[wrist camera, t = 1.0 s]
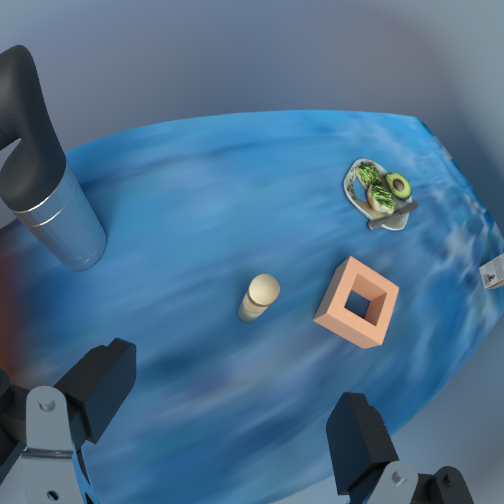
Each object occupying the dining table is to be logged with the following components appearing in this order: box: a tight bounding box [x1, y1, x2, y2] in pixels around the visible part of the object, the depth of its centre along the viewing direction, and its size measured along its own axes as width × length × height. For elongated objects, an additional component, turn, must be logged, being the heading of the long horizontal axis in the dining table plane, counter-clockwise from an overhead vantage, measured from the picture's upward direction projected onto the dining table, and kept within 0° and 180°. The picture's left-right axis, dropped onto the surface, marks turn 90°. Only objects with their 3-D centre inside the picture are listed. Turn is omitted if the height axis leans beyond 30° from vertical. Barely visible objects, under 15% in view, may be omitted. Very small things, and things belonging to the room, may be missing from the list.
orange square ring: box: [313, 256, 399, 349], centre depth 39 cm, size 10×10×5 cm
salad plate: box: [343, 159, 418, 230], centre depth 50 cm, size 19×18×5 cm
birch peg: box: [237, 274, 280, 323], centre depth 33 cm, size 3×3×12 cm
